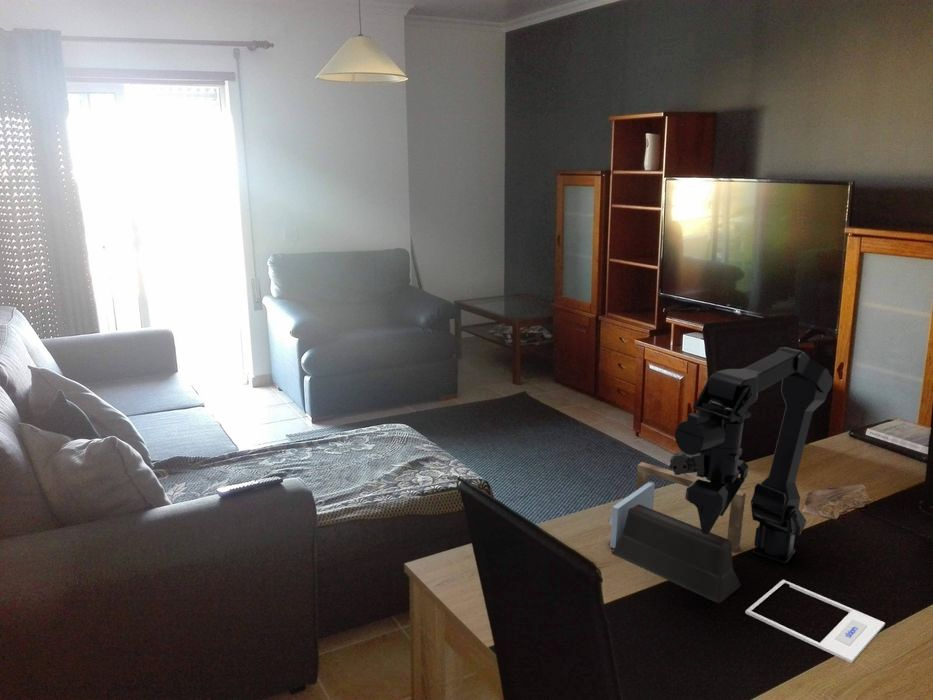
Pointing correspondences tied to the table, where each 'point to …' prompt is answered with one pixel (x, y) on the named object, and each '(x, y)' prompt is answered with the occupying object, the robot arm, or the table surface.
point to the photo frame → (844, 637)
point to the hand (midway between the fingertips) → (712, 524)
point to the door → (620, 510)
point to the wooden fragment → (835, 501)
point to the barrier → (678, 553)
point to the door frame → (686, 480)
